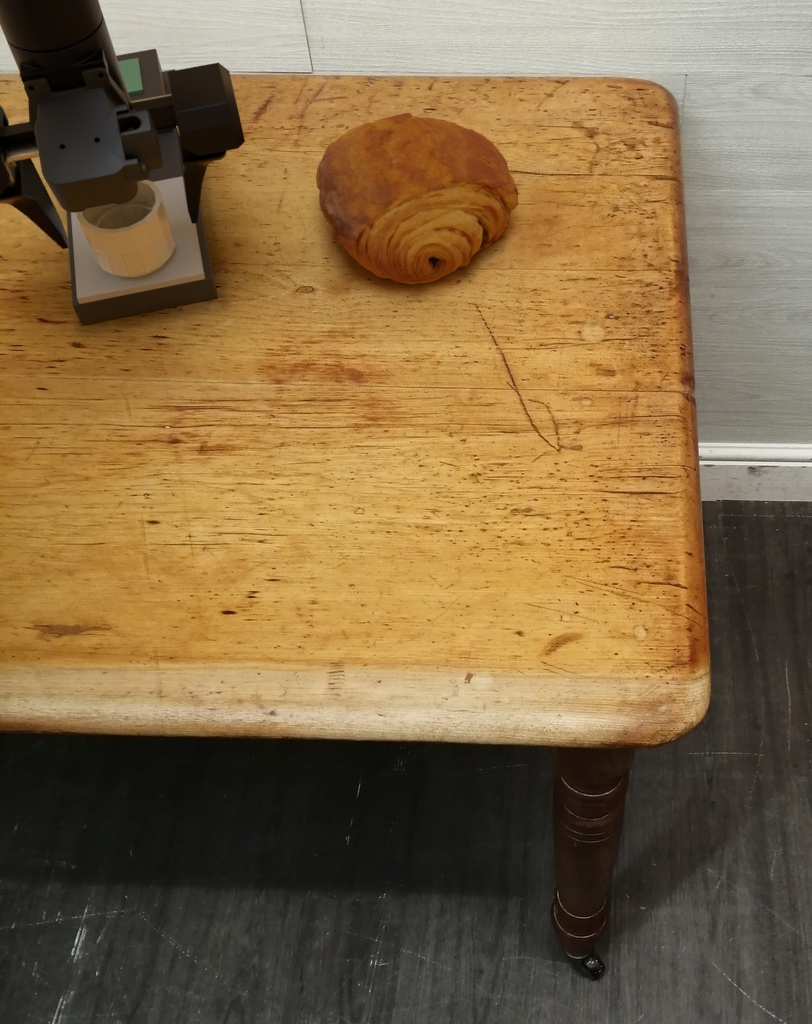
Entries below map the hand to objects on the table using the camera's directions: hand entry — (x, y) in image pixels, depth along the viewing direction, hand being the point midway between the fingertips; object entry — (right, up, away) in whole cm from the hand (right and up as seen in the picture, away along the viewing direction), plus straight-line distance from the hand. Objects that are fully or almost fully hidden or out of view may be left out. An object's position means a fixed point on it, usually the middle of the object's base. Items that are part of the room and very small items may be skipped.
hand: (130, 232), depth 70 cm
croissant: (+21, +2, +6) cm, 21 cm away
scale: (-2, +5, +8) cm, 10 cm away
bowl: (0, -1, +1) cm, 2 cm away
